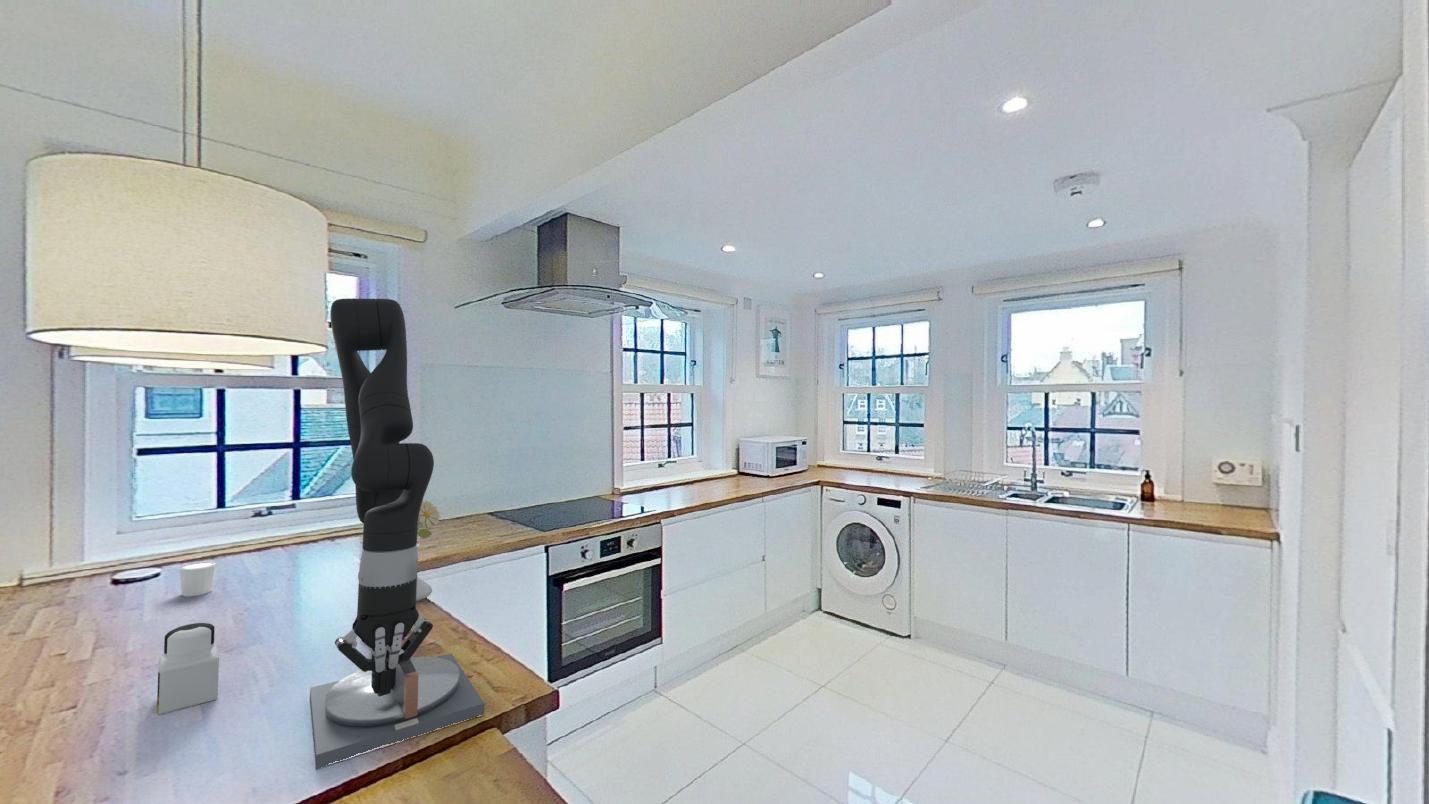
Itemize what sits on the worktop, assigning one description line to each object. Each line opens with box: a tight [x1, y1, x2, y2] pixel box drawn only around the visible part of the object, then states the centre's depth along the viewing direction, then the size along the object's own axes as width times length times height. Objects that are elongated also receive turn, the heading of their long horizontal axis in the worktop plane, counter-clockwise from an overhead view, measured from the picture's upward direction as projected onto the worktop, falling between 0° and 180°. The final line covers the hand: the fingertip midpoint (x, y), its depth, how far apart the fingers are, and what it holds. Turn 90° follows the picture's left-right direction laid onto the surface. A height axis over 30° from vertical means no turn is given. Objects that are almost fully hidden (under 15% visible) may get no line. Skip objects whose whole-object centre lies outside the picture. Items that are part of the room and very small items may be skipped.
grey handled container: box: [156, 622, 220, 716], centre depth 91 cm, size 7×7×12 cm
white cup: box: [179, 561, 217, 597], centre depth 140 cm, size 7×7×7 cm
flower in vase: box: [416, 500, 441, 602], centre depth 139 cm, size 13×11×25 cm
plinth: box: [309, 652, 485, 770], centre depth 89 cm, size 22×22×2 cm
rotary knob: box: [325, 656, 459, 726], centre depth 88 cm, size 22×19×8 cm
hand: (383, 692), depth 81 cm, fingers closed
